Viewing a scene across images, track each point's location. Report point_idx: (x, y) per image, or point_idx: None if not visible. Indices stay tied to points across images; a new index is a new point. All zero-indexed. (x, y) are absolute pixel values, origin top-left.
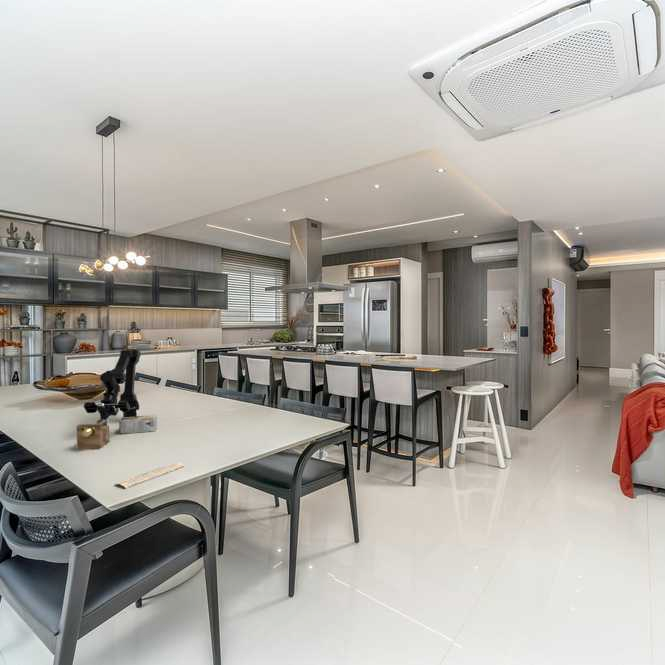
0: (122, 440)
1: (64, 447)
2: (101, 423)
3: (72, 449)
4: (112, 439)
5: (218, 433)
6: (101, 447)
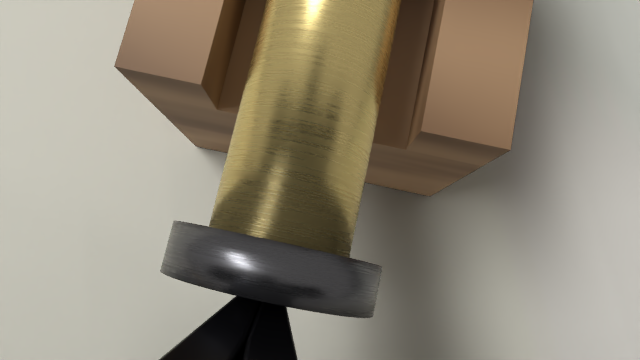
0: (58, 172)
1: (636, 113)
2: (249, 103)
3: None
4: None
5: None
6: None
